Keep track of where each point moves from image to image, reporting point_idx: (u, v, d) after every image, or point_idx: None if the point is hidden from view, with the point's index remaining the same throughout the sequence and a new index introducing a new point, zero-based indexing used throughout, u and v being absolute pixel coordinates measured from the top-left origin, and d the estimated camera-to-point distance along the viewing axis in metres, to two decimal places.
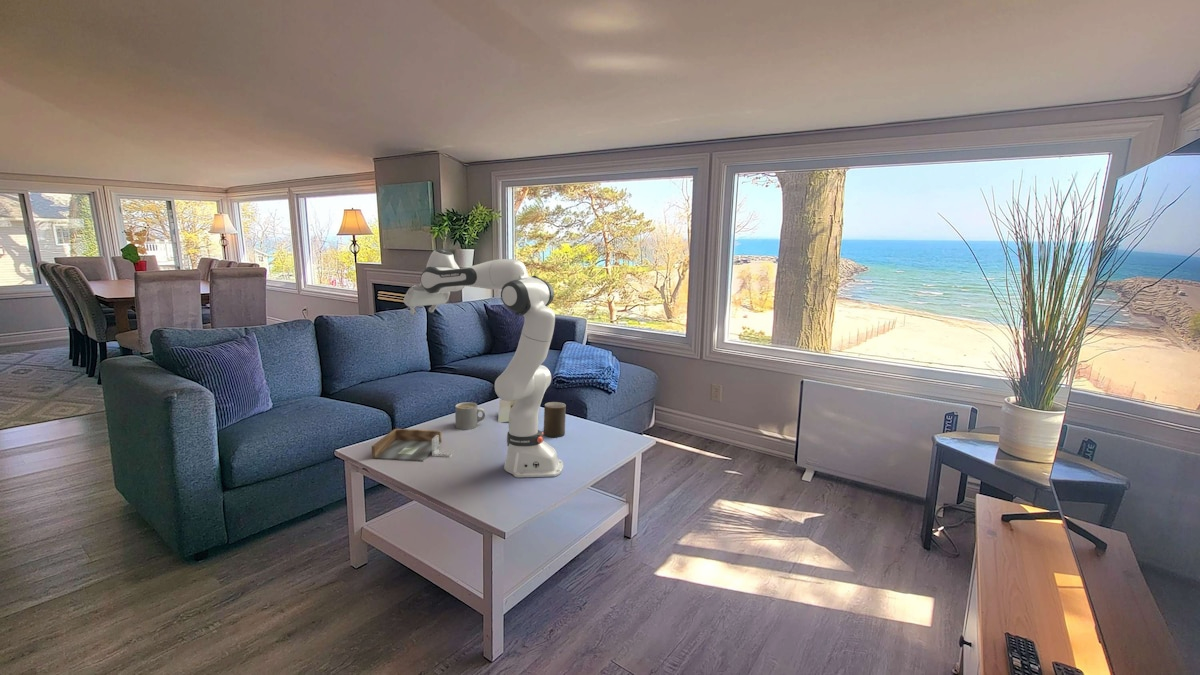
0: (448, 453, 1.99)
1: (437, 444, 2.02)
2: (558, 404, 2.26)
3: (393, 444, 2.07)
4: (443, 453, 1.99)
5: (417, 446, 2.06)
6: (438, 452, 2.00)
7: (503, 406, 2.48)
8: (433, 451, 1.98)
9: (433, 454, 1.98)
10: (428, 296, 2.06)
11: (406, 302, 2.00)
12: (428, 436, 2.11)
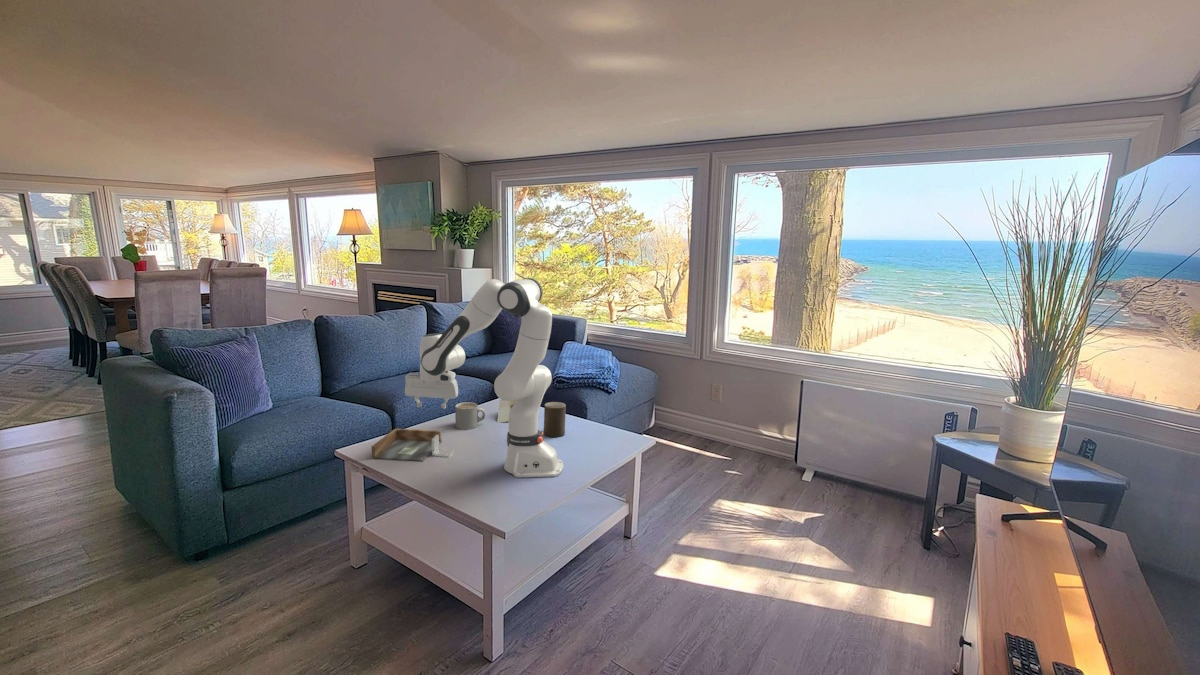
0: (448, 453, 1.99)
1: (437, 444, 2.02)
2: (558, 404, 2.26)
3: (393, 444, 2.07)
4: (443, 453, 1.99)
5: (417, 446, 2.06)
6: (438, 452, 2.00)
7: (503, 406, 2.48)
8: (433, 451, 1.98)
9: (433, 454, 1.98)
10: (427, 386, 1.96)
11: None
12: (428, 436, 2.11)
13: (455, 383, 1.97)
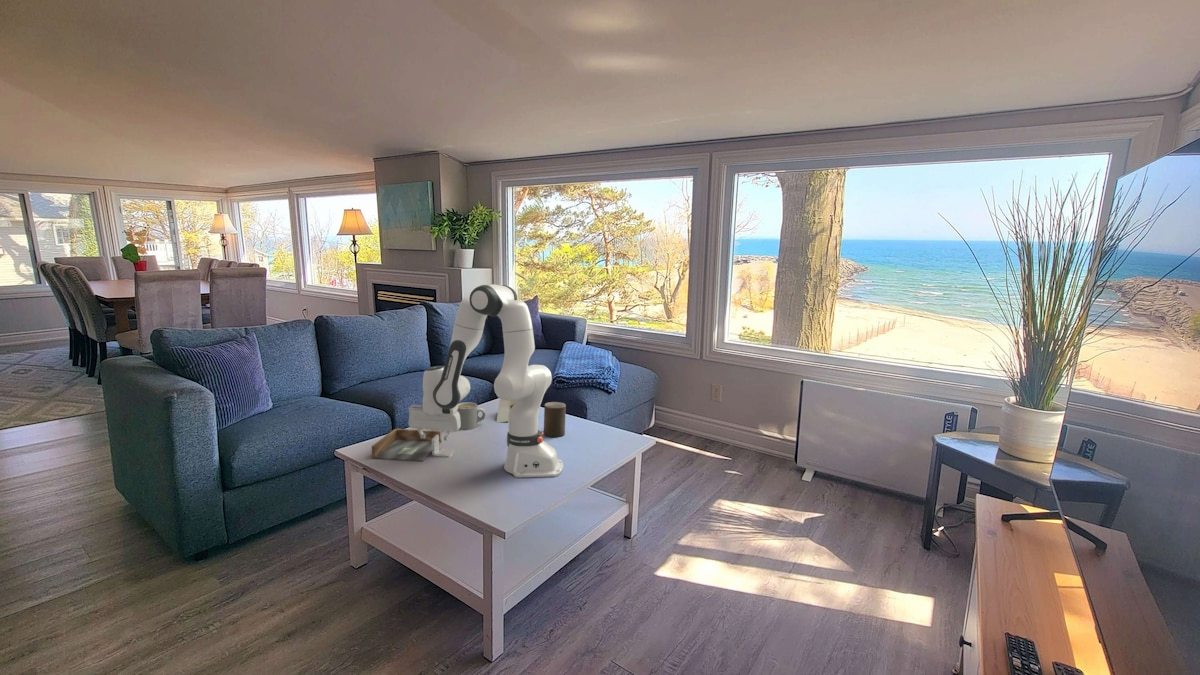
0: (448, 453, 1.99)
1: (437, 444, 2.02)
2: (558, 404, 2.26)
3: (393, 444, 2.07)
4: (443, 453, 1.99)
5: (417, 446, 2.06)
6: (438, 452, 2.00)
7: (502, 406, 2.48)
8: (433, 451, 1.98)
9: (433, 454, 1.98)
10: (430, 418, 1.97)
11: None
12: (428, 436, 2.11)
13: (457, 416, 1.98)
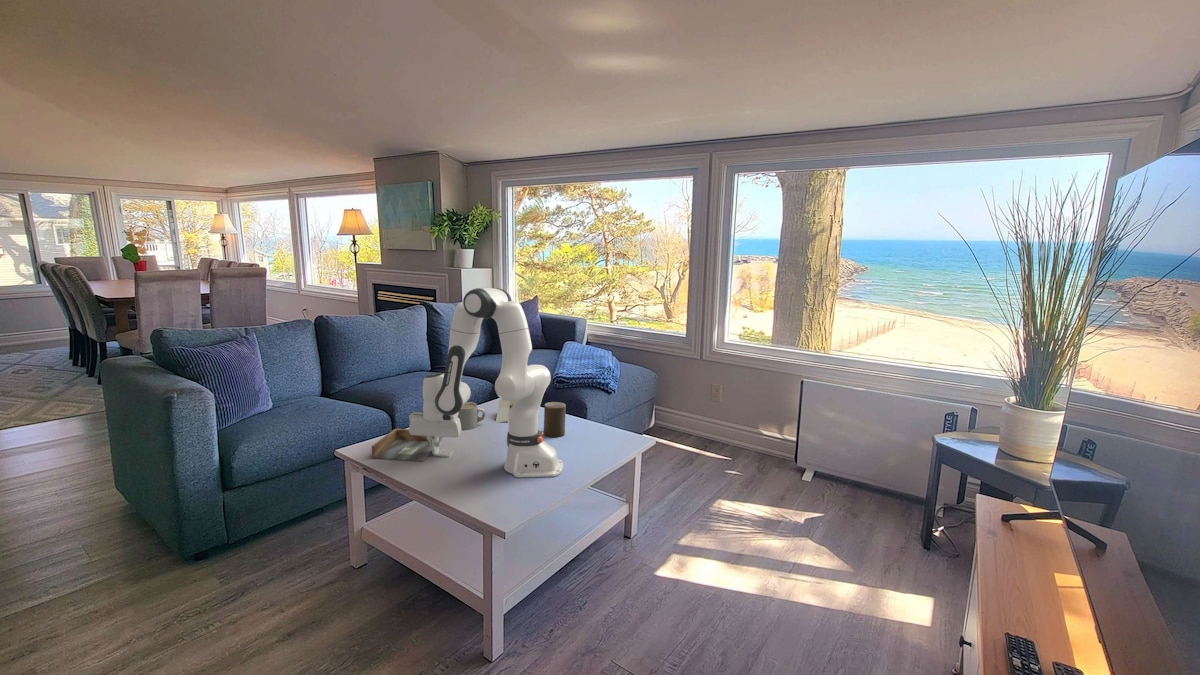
0: (448, 453, 1.99)
1: None
2: (558, 404, 2.26)
3: (393, 444, 2.07)
4: (443, 453, 1.99)
5: (417, 446, 2.06)
6: (438, 452, 2.00)
7: (502, 406, 2.48)
8: (433, 451, 1.98)
9: (433, 454, 1.98)
10: (431, 425, 1.97)
11: None
12: None
13: (458, 422, 1.98)
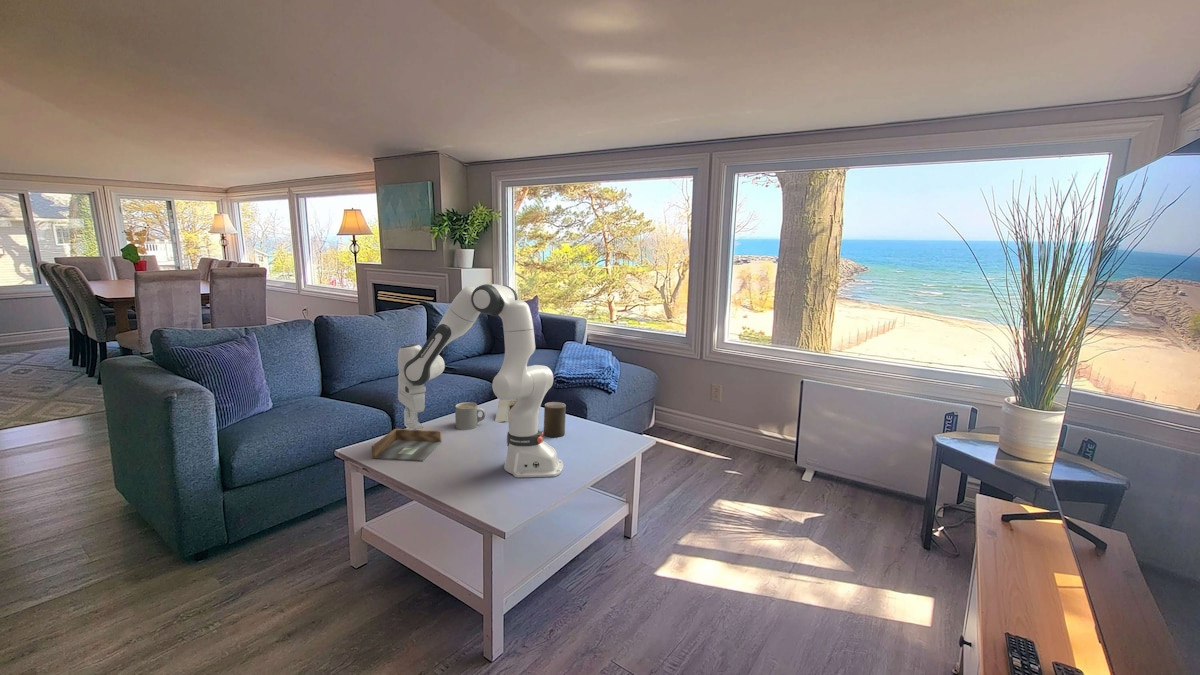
0: (412, 427, 1.97)
1: None
2: (558, 404, 2.26)
3: (393, 444, 2.07)
4: (410, 425, 1.99)
5: (417, 446, 2.06)
6: (410, 423, 2.01)
7: (502, 406, 2.48)
8: (404, 420, 2.01)
9: (404, 424, 2.01)
10: (405, 395, 2.00)
11: None
12: (428, 436, 2.11)
13: (418, 397, 1.93)
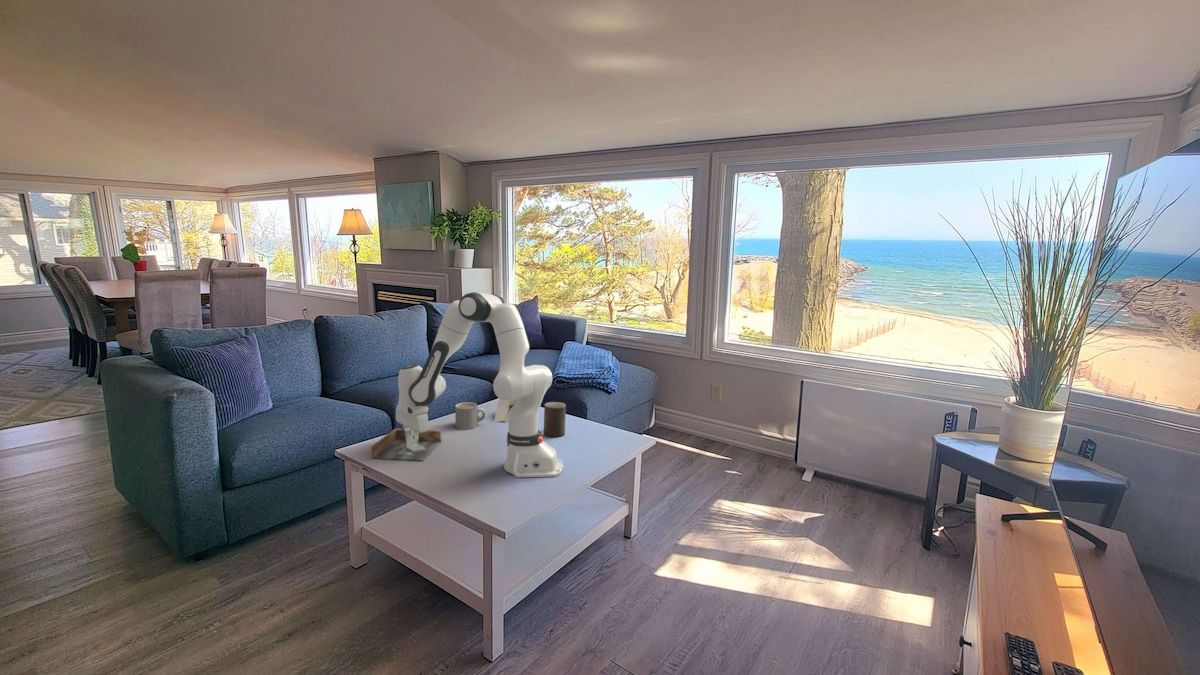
0: (415, 450, 1.99)
1: None
2: (558, 404, 2.26)
3: (393, 444, 2.07)
4: (412, 448, 2.00)
5: None
6: (411, 446, 2.02)
7: (501, 406, 2.48)
8: (406, 444, 2.02)
9: (406, 447, 2.02)
10: (406, 415, 2.02)
11: None
12: (428, 436, 2.11)
13: (422, 418, 1.95)
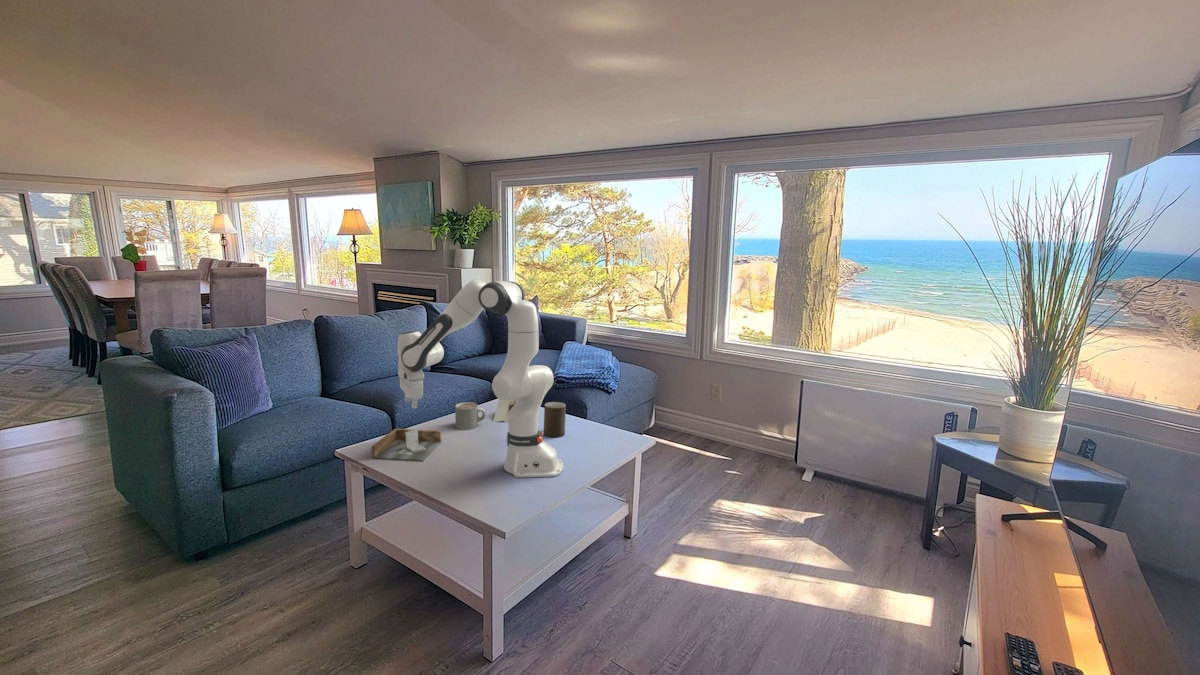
0: (415, 450, 1.99)
1: (415, 438, 2.04)
2: (558, 404, 2.26)
3: (393, 444, 2.07)
4: (412, 448, 2.00)
5: None
6: (411, 446, 2.02)
7: (501, 406, 2.49)
8: (406, 444, 2.02)
9: (406, 447, 2.02)
10: (405, 382, 1.99)
11: None
12: (428, 436, 2.11)
13: (416, 384, 1.92)
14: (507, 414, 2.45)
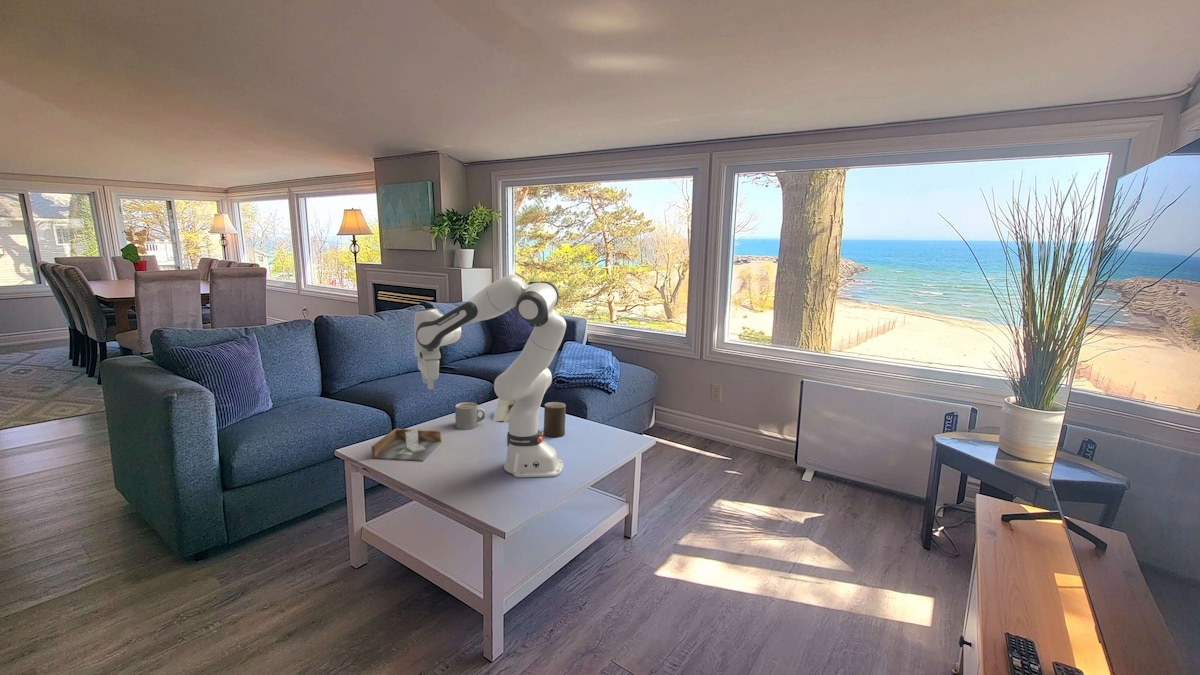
0: (415, 450, 1.99)
1: (415, 438, 2.04)
2: (558, 404, 2.26)
3: (393, 444, 2.07)
4: (412, 448, 2.00)
5: None
6: (411, 446, 2.02)
7: (500, 405, 2.49)
8: (406, 444, 2.02)
9: (406, 447, 2.02)
10: (422, 362, 1.91)
11: None
12: (428, 436, 2.11)
13: (432, 364, 1.82)
14: (506, 414, 2.45)
